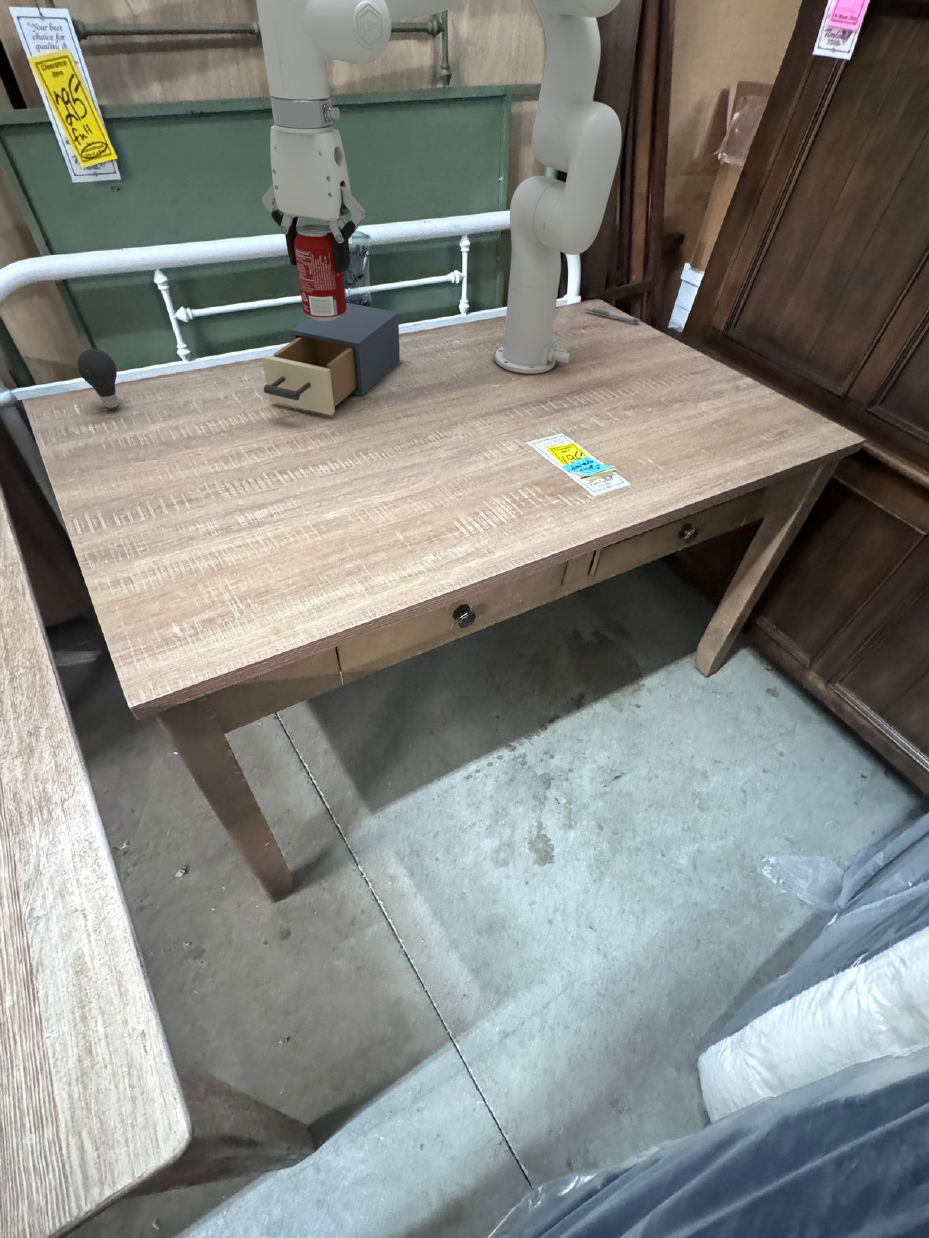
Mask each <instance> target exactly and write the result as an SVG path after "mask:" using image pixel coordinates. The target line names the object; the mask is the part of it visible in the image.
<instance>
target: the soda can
mask: <svg viewBox="0 0 929 1238" xmlns="http://www.w3.org/2000/svg"><path fill="white" fill-rule="evenodd" d="M296 231H297V236H296V238H295V240H294V249H295V256H296V263H297V265H296V269H297V276H298V283H299V290H300V291H299V292H300V297H301V305H302V312H303V313H304V315H305V316H307V317H308V318H310V317H311V318H312V319H314V320H317V321H333V320H336V319H339V318H340V317H341V316H343V315H344V314H345V313H346V311H347V308H346V303H347V299H346V288H345V287H346V286H345V278H344V271H343V272H342V273H337V272H336V271H335V263H334V253H333V243H334V242H336V239H335V237H334V235H333V232H332V230H331V228H330V226H329V224H327V223H304V224H301V225H298V227H297V228H296Z"/></svg>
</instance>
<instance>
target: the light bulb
mask: <svg viewBox="0 0 929 1238" xmlns="http://www.w3.org/2000/svg"><path fill="white" fill-rule="evenodd" d="M76 365H77V366H76V367H77V370H78V373H79V375H80V376H81V377H82V380H84V381H85V382H86V383H87V384H89V386H91V387H92V389H94V391H95V393H96V394H97V395H98V396H99V398H100V400H101V403H102V405H103V406H104V407H105V408H107V409H110V410H115V409H117V407H118V405H119V398H118V396H117V393H116V392H117V390H116V380H117V376H118V371H117V370H118V369H117V365H116V363H115V360H113V358H112V357H111V356H110V355H109V354H108V353H106V352H104V351H102V350H100V349H96V348H90V349H85V350H84V351H82V352H81V353H80V355H79V356H78V358H77V362H76Z"/></svg>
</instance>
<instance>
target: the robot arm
mask: <svg viewBox="0 0 929 1238" xmlns="http://www.w3.org/2000/svg"><path fill="white" fill-rule="evenodd" d="M464 1H465V0H256V7H257V8H256V9H257V16H258V22H259V30H260V36H261V44H262V51H263V57H264V65H265V70H266V77H267V85H268V91H269V99H270V106H271V113H272V119H273V125H271V127H270V135H269V136H270V137H269V139H270V141H269V144H270V145H269V147H270V148H269V149H270V167H271V179H272V184H271V185H270V187H269V188H268V189H267V191H266V192H265V193H264V194H263V196H262V197H261V204H263V206H264V207H265V209H266V210H267V212H269V214H270V215H271V218H272V219H273V221H274V222H275V223H276V224H277V225H278V227H279V228H280V229H279V230H280V232H281V234H282V235H284V237H285V243H286V251H287V255H288V257H289V264H290V265H291V266H293V267H294V266H297V263H296V256H295V249H294V240H295V238H296V236H297V231H296V228H297V227H298V226H299V223H300V218H303V219H304V218H305V219H312V220H318V221H325V222H327V225H329V226H330V228H331V230H332V232H333V235H334V237H335V239H336V242H334V243H333V253H334V263H335V271H336V272H337V273H342V272H343V273H344V272H345V271H347V270H348V269H350V264H351V254H350V242H349V240H350V239H351V238H352V236H353V235H354V233H355V232H356V231H357V229H358V228H359V226H360V224H361V223H362V221H363V220H364V219H365V217H366V215H367V211H366V209H365V208H364V207H363V206H362V205H361V204H360V202H358V200H357V199H356V198H355V196H354V195H352V191H351V184H350V177H349V169H348V164H347V163H348V162H347V159H346V154H345V149H344V145H343V141H342V138H341V137H342V136H341V134H340V130H339V129H337V128H334V127H333V125H334V121H337V122H338V121H340V119H341V111H340V108H339V107H337V106H333V103H332V99H331V96H330V95H331V94H330V83H329V71H328V61H329V60H330V61H331V60H332V61H340V62H344V63H349V64H354V65H368V64H371V63H373V62H375V61H377V60H378V59H379V58H381V57H382V55H383V54H384V53H385V52H386V50H387V48H388V46H389V44H390V40H391V36H392V35H391V34H392V23H394V22H397V21H400V20H404V19H409V18H417V17H427V16H433V15H437V14H440V13H442V12H443V13H444V12H445V11H448V10H451V9H454V8H456V7H457V6H458V5H460V4H462V2H464ZM531 1H532V3H533V5H534V7H535V9H536V11H537V13H538V16H539V18H540V21H541V25H542V28H543V33H544V38H545V58H544V66H543V73H542V79H541V84H540V90H539V95H538V101H537V106H536V111H535V116H534V122H533V127H532V134H531V151H532V155H533V156H534V158H535V159H536V161H538V162H539V163H540V164H541V165H543V166H545V167H548V168H550V169H554V170H557V171H559V172H564V173H566V178H565V179H566V180H565V181H562V180H559V179H556V178H553V177H550V176H544V175H534V176H530V177H528V178H525V179H524V180H523V181H522V182H521V183H519V184H518V186H517V187H516V189H515V190H514V193H513V195H512V197H511V202H510V207H509V226H510V239H511V241H510V242H511V253H510V270H509V279H508V280H509V281H508V292H507V301H506V302H507V303H506V304H507V305H506V313H505V323H504V324H505V325H504V336H503V346H501V347H499V348H498V349H497V350H496V351H495V355H494V361H495V362H496V364H497V365H498V366H499V367H501V368H502V369H505V370H506V371H510V372H513V373H518V374H527V375H528V374H529V375H535V374H542V373H546V372H549V371H550V370H552V369H553V368H554V367H555V365H556V361H557V362H559V363H562V364H563V363H564V364H569V361H570V358H571V353H570V352H568V348H565V347H564V348H563V347H557V345H555V340H556V339H555V338H554V337H552V336H553V329H554V322H555V315H556V308H557V301H558V295H559V294H558V293H559V288H560V281H561V274H562V257H561V253H563V254H564V255H565V254H566V255H570V256H577V255H580V254H583V253H584V252H586V251H587V250H588V249H589V248H590V247H591V246H592V245H593V243H594V241H595V240H596V238H597V236H598V233H599V231H600V228H601V225H602V223H603V219H604V216H605V212H606V208H607V205H608V201H609V197H610V193H611V189H612V187H613V186H612V185H613V183H614V178H615V175H616V171H617V168H618V163H619V159H620V155H621V149H622V127H621V126H622V125H621V121H620V119H619V115H617V113H616V111H615V110H614V109H613V108H612V107H611V106H610V105H607V104H606V103H603V102H599V101H595V100H594V95H595V90H596V84H597V79H598V74H599V68H600V64H601V63H600V62H601V54H602V53H601V51H602V50H601V49H602V48H601V46H602V45H601V36H600V29H599V26H598V20H597V18H601V17H604V16H606V15H608V14H610V13H611V12H612V11H614V10H615V9H616V8H617V7H618V5H619V4H620V3H621V1H622V0H531ZM349 214H350V218H349V220H348V221H347V220H346V218H345V216H346V215H349Z"/></svg>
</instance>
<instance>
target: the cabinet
mask: <svg viewBox="0 0 929 1238" xmlns="http://www.w3.org/2000/svg"><path fill="white" fill-rule="evenodd" d="M346 308H347V311H346V313H345V314H344V315H343V316H341V317H340V318H339V319H336V320H333V321H317V320H314V319H312V318H311V317H308V318H306V319H305V320H304V321H302V322H301V323H299V324H297V325H295V326H294V327H293V328H291V329H290V334H291V335H290V336H291V340H292V341H294V340H295V339H296V338H298V337H299V336H302V337H307V338H312V339H317V340H322V341H327V342H332V343H336V344H341V345H346V346H351V347H355V354H356V366H357V378H358V387H357V388H356V389H355V390H353V391H352V392H351V393H350V394H352V395H357V396H361V397H363V396H364V395H365V394H367V393H368V392H369V391H370V390H371V389H372V388H373V387H374V386H375V385H377V384H378V382H380V381H381V380H382V379H383V378H384V377H385V376H386V375H387V374H389V373H390V372H391V371H392V370H393V369H394V368H395V367H396V366H397V365H398V364H399V363H400V362H401V354H400V353H401V352H400V350H401V349H400V324H399V323H400V322H399V321H400V320H399V312H398V311H393V310H387V309H382V308H376V307H371V306H366V305H361V304H355V303H350V302H346ZM292 341H291V342H292Z"/></svg>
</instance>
